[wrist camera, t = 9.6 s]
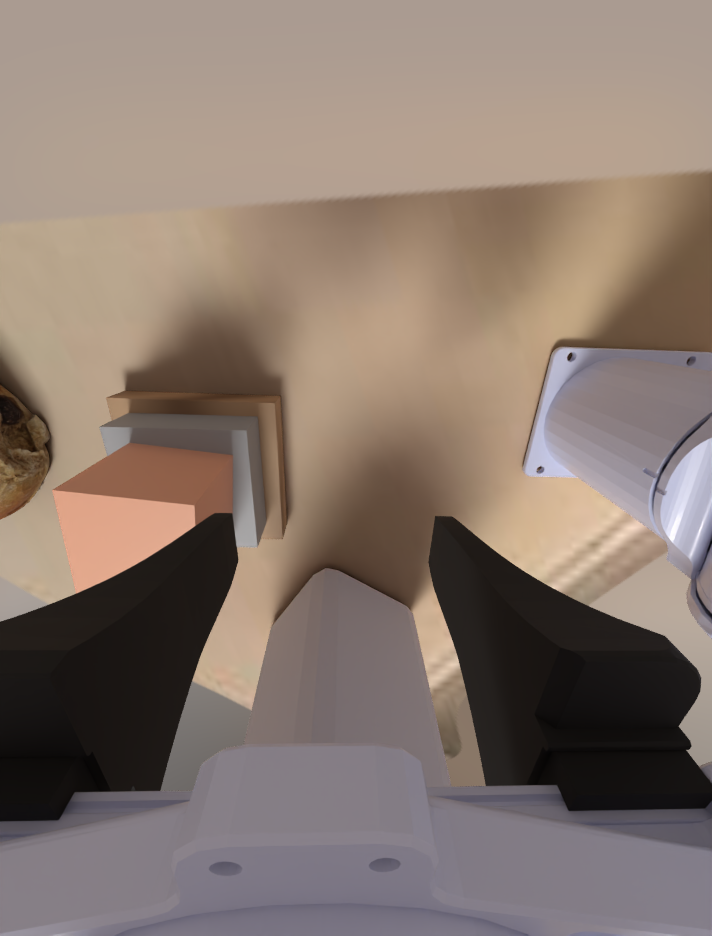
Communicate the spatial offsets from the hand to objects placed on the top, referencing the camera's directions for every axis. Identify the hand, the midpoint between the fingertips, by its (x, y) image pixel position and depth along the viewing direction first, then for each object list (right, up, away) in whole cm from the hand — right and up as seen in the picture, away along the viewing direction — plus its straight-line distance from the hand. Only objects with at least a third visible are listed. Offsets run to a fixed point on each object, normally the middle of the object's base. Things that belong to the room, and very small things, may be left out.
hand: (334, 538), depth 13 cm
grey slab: (-8, +2, +8) cm, 12 cm away
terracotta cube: (-8, +1, +6) cm, 10 cm away
